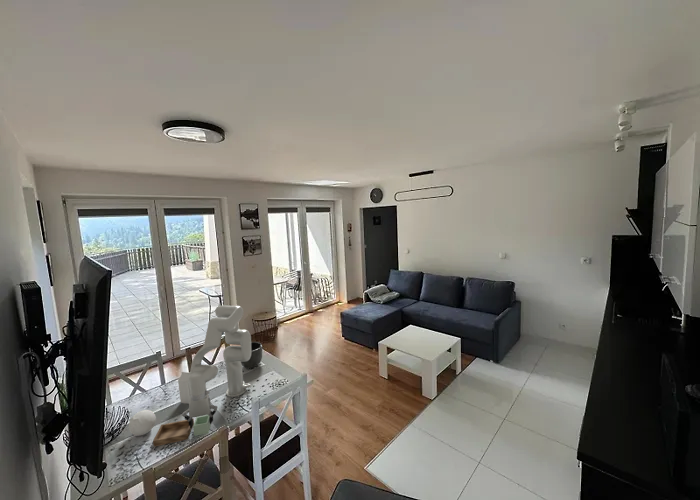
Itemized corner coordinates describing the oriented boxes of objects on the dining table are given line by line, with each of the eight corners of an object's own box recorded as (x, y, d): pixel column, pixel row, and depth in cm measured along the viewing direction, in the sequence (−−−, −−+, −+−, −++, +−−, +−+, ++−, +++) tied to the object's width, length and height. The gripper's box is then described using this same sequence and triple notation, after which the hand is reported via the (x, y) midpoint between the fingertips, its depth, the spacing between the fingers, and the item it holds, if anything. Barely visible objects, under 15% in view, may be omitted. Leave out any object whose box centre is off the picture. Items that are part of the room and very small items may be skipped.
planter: (268, 362, 225) (266, 343, 223) (252, 374, 210) (250, 353, 208) (251, 359, 232) (249, 340, 230) (234, 369, 217) (233, 349, 215)
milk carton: (190, 404, 179) (187, 375, 176) (180, 403, 180) (177, 375, 178) (198, 397, 186) (195, 369, 183) (189, 395, 187) (185, 368, 185)
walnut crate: (194, 423, 162) (193, 418, 162) (188, 439, 151) (187, 433, 150) (162, 429, 158) (161, 424, 158) (153, 446, 147) (152, 441, 146)
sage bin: (211, 424, 161) (210, 414, 161) (208, 433, 155) (207, 423, 154) (197, 427, 160) (196, 417, 159) (194, 436, 153) (193, 426, 152)
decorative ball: (125, 438, 153) (121, 417, 152) (147, 422, 164) (144, 403, 163) (140, 443, 149) (137, 422, 147) (162, 427, 160) (159, 407, 159)
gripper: (217, 388, 160) (219, 416, 162) (182, 394, 155) (185, 423, 157) (214, 396, 153) (217, 425, 155) (178, 402, 148) (181, 433, 150)
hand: (201, 424), depth 156 cm, fingers open, 9 cm apart
